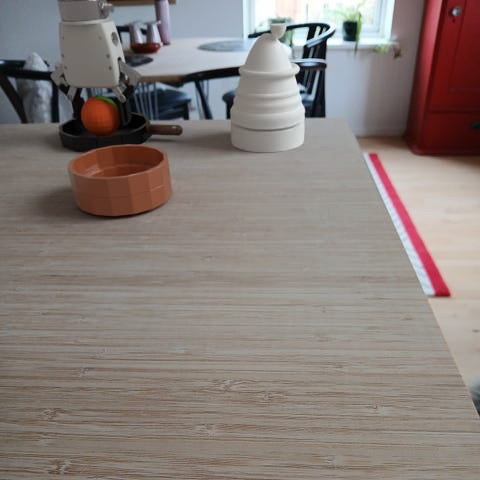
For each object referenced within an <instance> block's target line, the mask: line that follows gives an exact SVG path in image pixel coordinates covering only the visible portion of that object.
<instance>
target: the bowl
mask: <svg viewBox="0 0 480 480" xmlns="http://www.w3.org/2000/svg"><path fill="white" fill-rule="evenodd" d="M66 169H67V172H68V176H69V181H70V185H71V189H72V194H73V197H74V198H73V199H74V202H75V205H77V207H78V208H79V209H80V210H81V211H82V212H86V213H89V214H92V215H96V216H105V217H106V216H108V217H118V216H128V215H129V216H130V215H136V214H139V213H143V212H146V211H151V210H154V209H156V208H157V207H159V206H161V205H164V204H166V202H168V200H169V199H170V198H171V197H172V195H173V189H172V180H171V172H170V171H171V170H170V163H169V156H168V152H166V151H165V150H163V149H162V148H160V147H157V146H152V145H148V144H139V145H134V144H127V145H115V146H108V147H103V148H98V149H94V150H91V151H88V152H82V153H80V154H78V155H77V156H75V157H73V158H72V159H71V160H70V161H69V162H68V165H67V168H66Z"/></svg>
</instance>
